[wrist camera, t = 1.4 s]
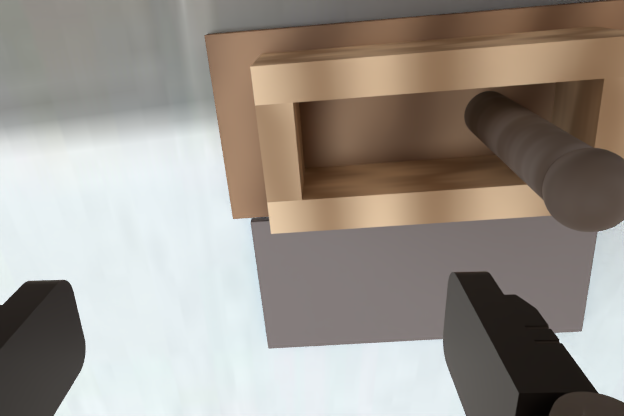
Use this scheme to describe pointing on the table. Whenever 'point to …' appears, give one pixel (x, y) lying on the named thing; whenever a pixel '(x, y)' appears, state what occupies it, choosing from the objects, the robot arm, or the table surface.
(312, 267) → the grey rubber mat
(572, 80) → the open wooden box
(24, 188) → the table surface
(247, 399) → the table surface
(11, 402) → the robot arm
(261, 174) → the walnut post stand
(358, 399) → the table surface
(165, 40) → the table surface
